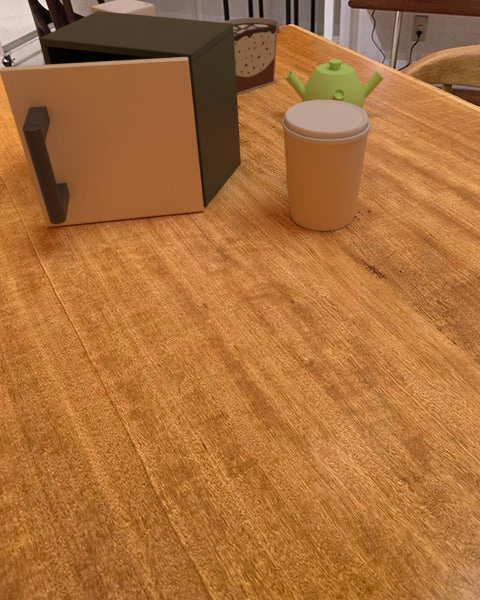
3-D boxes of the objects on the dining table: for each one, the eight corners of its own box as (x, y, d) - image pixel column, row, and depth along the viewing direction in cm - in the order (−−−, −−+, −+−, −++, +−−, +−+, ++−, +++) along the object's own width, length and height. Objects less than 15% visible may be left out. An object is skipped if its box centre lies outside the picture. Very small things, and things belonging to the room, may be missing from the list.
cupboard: (206, 207, 70) (191, 54, 59) (75, 185, 74) (38, 38, 63) (241, 163, 79) (233, 23, 68) (123, 146, 83) (97, 10, 72)
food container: (257, 72, 107) (255, 12, 101) (280, 80, 104) (280, 20, 98) (203, 88, 101) (197, 25, 94) (225, 98, 97) (221, 34, 91)
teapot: (329, 96, 98) (332, 43, 93) (384, 116, 92) (390, 61, 87) (282, 115, 92) (281, 59, 87) (337, 137, 86) (340, 79, 81)
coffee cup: (372, 204, 71) (383, 107, 64) (344, 243, 65) (352, 140, 57) (302, 187, 74) (304, 93, 67) (268, 223, 68) (266, 122, 60)
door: (209, 238, 65) (193, 79, 54) (41, 256, 62) (-12, 92, 51) (203, 207, 70) (187, 56, 59) (47, 222, 67) (0, 67, 56)
